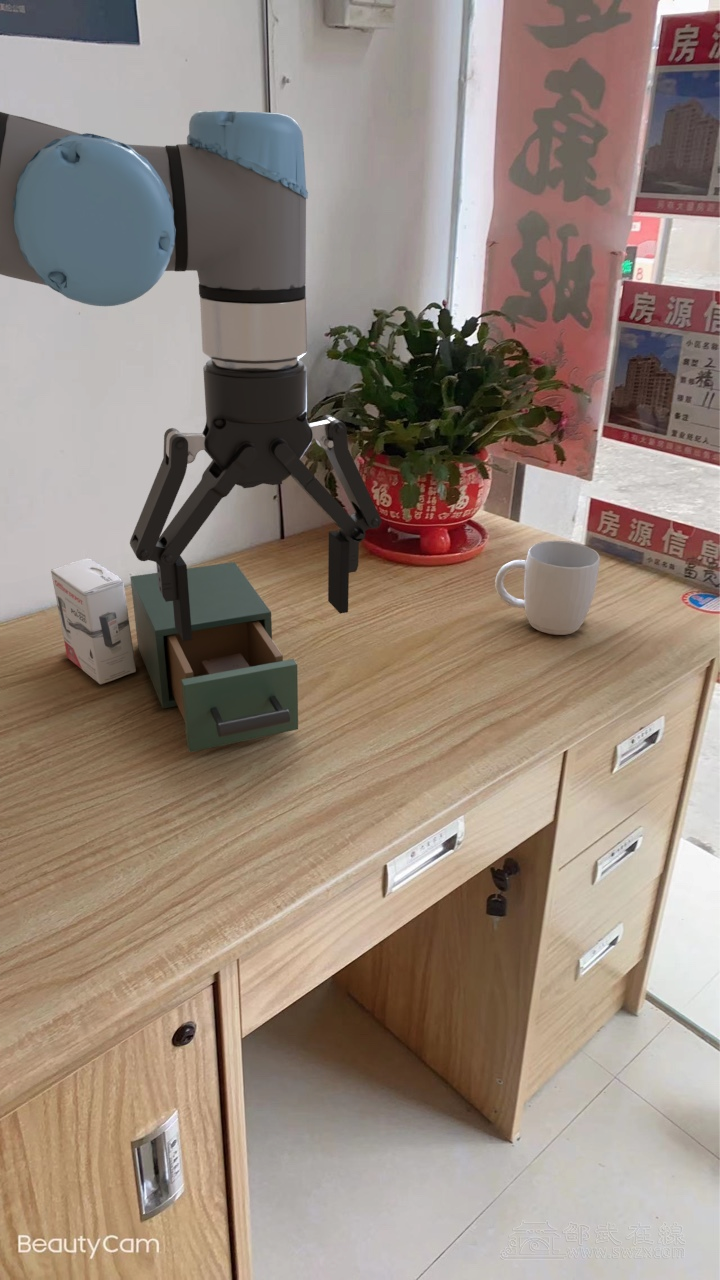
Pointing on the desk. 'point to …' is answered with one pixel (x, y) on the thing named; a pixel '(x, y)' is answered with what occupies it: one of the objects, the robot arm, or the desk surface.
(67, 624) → the ink box
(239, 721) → the drawer
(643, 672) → the desk surface
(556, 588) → the mug
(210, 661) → the block
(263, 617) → the cabinet
